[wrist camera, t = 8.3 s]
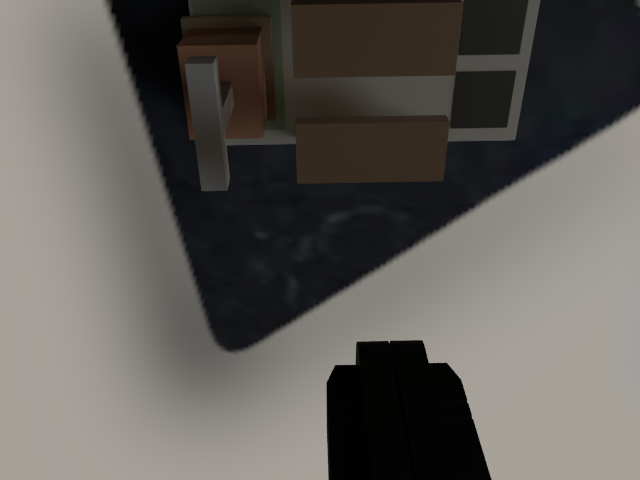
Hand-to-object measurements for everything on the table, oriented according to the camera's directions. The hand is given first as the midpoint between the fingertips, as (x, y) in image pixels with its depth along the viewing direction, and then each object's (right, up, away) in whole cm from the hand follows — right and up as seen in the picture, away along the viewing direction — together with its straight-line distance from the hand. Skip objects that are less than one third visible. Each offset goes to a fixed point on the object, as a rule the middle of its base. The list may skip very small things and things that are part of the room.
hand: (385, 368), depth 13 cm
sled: (-7, +13, +21) cm, 26 cm away
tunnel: (+1, +14, +23) cm, 27 cm away
